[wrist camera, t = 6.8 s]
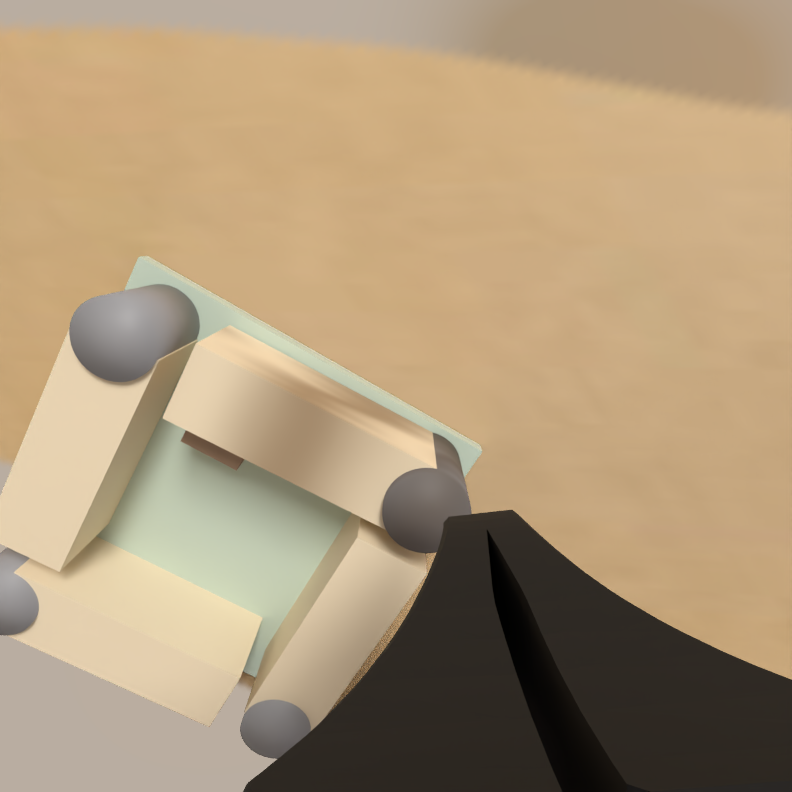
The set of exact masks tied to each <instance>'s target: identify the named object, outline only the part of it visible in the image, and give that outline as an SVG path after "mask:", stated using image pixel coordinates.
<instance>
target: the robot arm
mask: <svg viewBox="0 0 792 792" xmlns="http://www.w3.org/2000/svg"><path fill="white" fill-rule="evenodd" d="M243 792H792V680H791V679H788V678H786V677H783V676H780V675H778V674H775V673H773V672H770V671H768V670H765V669H763V668H760V667H757V666H755V665H753V664H750V663H748V662H746V661H743V660H741V659H739V658H736V657H734V656H732V655H729V654H727V653H725V652H723V651H720V650H718V649H716V648H714V647H712V646H710V645H708V644H706V643H704V642H702V641H700V640H698V639H696V638H693V637H691V636H689V635H687V634H685V633H683V632H681V631H679V630H677V629H675V628H673V627H672V626H670V625H668V624H666V623H664V622H662V621H660V620H658V619H657V618H655V617H653V616H652V615H650V614H648V613H646V612H645V611H643V610H641V609H640V608H638V607H636V606H635V605H633V604H631V603H629V602H628V601H626V600H624V599H623V598H621V597H620V596H618V595H617V594H615V593H613V592H612V591H610V590H609V589H607V588H606V587H605V586H603V585H602V584H600V583H599V582H598V581H596V580H595V579H593V578H592V577H590V576H589V575H588V574H586V573H585V572H584V571H582V570H581V569H580V568H578V567H577V566H576V565H575V564H573V563H572V562H571V561H570V560H569V559H567V558H566V557H565V556H564V555H562V554H561V553H560V552H559V551H558V550H556V549H555V548H554V547H553V546H552V545H551V544H549V543H548V542H547V541H546V540H545V539H544V538H543V537H542V536H540V535H539V534H538V533H537V532H536V531H535V530H534V529H533V528H532V527H531V526H530V525H529V524H528V523H526V522H525V521H524V520H523V519H522V518H521V517H520V516H519V515H518V514H517V513H515V512H514V511H513V510H506V511H497V512H488V513H478V514H469V515H460V516H451V517H448V518H447V519H446V520H445V521H444V523H443V533H442V537H441V541H440V544H439V547H438V550H437V553H436V556H435V558H434V561H433V563H432V566H431V568H430V571H429V573H428V576H427V578H426V580H425V582H424V584H423V586H422V588H421V590H420V592H419V594H418V596H417V598H416V600H415V602H414V604H413V606H412V608H411V609H410V611H409V613H408V614H407V616H406V618H405V620H404V621H403V623H402V624H401V626H400V628H399V629H398V631H397V632H396V634H395V635H394V637H393V638H392V640H391V641H390V643H389V644H388V645H387V647H386V648H385V649H384V651H383V652H382V653H381V655H380V656H379V657H378V659H377V660H376V661H375V662H374V664H373V665H372V666H371V668H370V669H369V670H368V672H367V673H366V674H365V675H364V676H363V678H362V679H361V680H360V681H359V682H358V683H357V685H356V686H355V687H354V688H353V689H352V690H351V691H350V692H349V693H348V694H347V695H346V696H345V698H344V699H343V700H342V701H341V702H340V703H339V704H338V705H337V706H336V707H335V708H334V709H333V710H332V711H331V712H330V713H329V714H328V715H327V716H326V717H325V718H324V719H323V720H322V721H321V722H320V723H319V724H318V725H317V726H316V727H315V728H314V729H313V730H312V731H310V732H309V733H308V734H307V735H306V736H305V737H304V738H302V739H301V740H300V741H299V742H298V743H296V744H295V745H294V746H293V747H292V748H290V749H289V750H288V751H287V752H286V753H284V754H283V755H282V756H281V757H280V758H278V759H277V760H276V761H275V762H274V763H272V764H271V765H270V766H269V767H267V768H266V769H265V770H264V771H263V772H261V773H260V774H259V775H257V776H256V777H255V778H253V779H252V780H251V781H250V782H248V784H247V785H246V787H245V789H244V791H243Z"/></svg>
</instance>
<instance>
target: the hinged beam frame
mask: <svg viewBox="0 0 792 792" xmlns="http://www.w3.org/2000/svg"><path fill="white" fill-rule="evenodd" d="M229 325H231V326H233V327H235V328H236V329H238V330H240V331H242V332H244V333H246V334H248V335H250V336H252V337H253V338H255V339H257V340H259V341H261V342H263V343H265V344H267V345H269V346H270V347H272V348H274V349H276V350H278V351H280V352H282V353H284V354H285V355H287V356H289V357H291V358H293V359H295V360H297V361H299V362H301V363H302V364H304V365H306V366H308V367H310V368H312V369H314V370H316V371H318V372H319V373H321V374H323V375H325V376H327V377H329V378H331V379H333V380H335V381H336V382H338V383H340V384H342V385H344V386H346V387H348V388H350V389H351V390H353V391H355V392H357V393H359V394H361V395H363V396H365V397H367V398H368V399H370V400H372V401H374V402H376V403H378V404H380V405H382V406H384V407H385V408H387V409H389V410H391V411H393V412H395V413H397V414H399V415H401V416H402V417H404V418H406V419H408V420H410V421H412V422H414V423H416V424H417V425H419V426H421V427H423V428H425V429H427V430H429V431H431V432H433V433H436V434H439V435H441V436H443V437H445V438H446V439H447V440H449V441H450V442H451V443H452V444H453V445H454V447H455V448H456V450H457V452H458V454H459V457H460V462H461V466H462V471H463V475H464V477H465V476H466V474H467V473H468V472H469V470H470V469H471V467H472V466H473V464H474V463H475V461H476V460H477V458H478V457H479V456H480V454H481V453H482V449H481V446H480V445H479V444H478V443H476V442H474V441H472V440H471V439H469V438H467V437H465V436H463V435H462V434H460V433H458V432H456V431H455V430H453V429H451V428H449V427H448V426H446V425H444V424H442V423H441V422H439V421H437V420H435V419H434V418H432V417H430V416H428V415H427V414H425V413H423V412H421V411H419V410H418V409H416V408H414V407H412V406H411V405H409V404H407V403H405V402H404V401H402V400H400V399H398V398H397V397H395V396H393V395H391V394H390V393H388V392H386V391H384V390H383V389H381V388H379V387H377V386H375V385H374V384H372V383H370V382H368V381H367V380H365V379H363V378H361V377H360V376H358V375H356V374H354V373H353V372H351V371H349V370H347V369H346V368H344V367H342V366H340V365H339V364H337V363H335V362H333V361H332V360H330V359H328V358H326V357H324V356H323V355H321V354H319V353H317V352H316V351H314V350H312V349H310V348H309V347H307V346H305V345H303V344H302V343H300V342H298V341H296V340H295V339H293V338H291V337H289V336H288V335H286V334H284V333H282V332H280V331H279V330H277V329H275V328H273V327H272V326H270V325H268V324H266V323H265V322H263V321H261V320H259V319H258V318H256V317H254V316H252V315H251V314H249V313H247V312H245V311H244V310H242V309H240V308H238V307H237V306H235V305H233V304H231V303H229V302H228V301H226V300H224V299H222V298H221V297H219V296H217V295H215V294H214V293H212V292H210V291H208V290H207V289H205V288H203V287H201V286H200V285H198V284H196V283H194V282H193V281H191V280H189V279H187V278H185V277H184V276H182V275H180V274H178V273H177V272H175V271H173V270H171V269H170V268H168V267H166V266H164V265H163V264H161V263H159V262H157V261H156V260H154V259H152V258H150V257H149V256H141V257H138V260H137V262H136V264H135V267H134V269H133V271H132V274H131V276H130V278H129V281H128V283H127V285H126V287H125V290H124V291H120V292H116V293H111V294H107V295H102V296H97V297H94V298H91V299H89V300H87V301H85V302H84V303H83V304H81V305H80V306H79V307H78V308H77V310H76V311H75V313H74V315H73V317H72V319H71V322H70V328H69V330H68V333H67V335H66V338H65V340H64V342H63V345H62V347H61V350H60V352H59V355H58V357H57V360H56V362H55V364H54V367H53V369H52V372H51V374H50V377H49V379H48V381H47V384H46V386H45V389H44V391H43V394H42V396H41V398H40V401H39V403H38V406H37V408H36V411H35V413H34V415H33V418H32V420H31V423H30V425H29V428H28V430H27V432H26V435H25V437H24V440H23V442H22V445H21V447H20V449H19V452H18V454H17V457H16V459H15V462H14V464H13V466H12V469H11V471H10V474H9V476H8V479H7V481H6V484H5V486H4V489H3V491H2V493H1V496H0V544H1V545H4V546H6V547H7V548H6V549H5V550H4V551H2V552H1V553H0V635H7V636H9V637H11V638H14V639H16V640H18V641H20V642H22V643H24V644H27V645H29V646H31V647H33V648H36V649H38V650H40V651H42V652H44V653H47V654H49V655H51V656H54V657H56V658H58V659H60V660H62V661H64V662H67V663H69V664H71V665H73V666H75V667H77V668H80V669H82V670H84V671H86V672H89V673H91V674H93V675H95V676H97V677H100V678H102V679H104V680H107V681H108V682H111V683H113V684H115V685H117V686H119V687H122V688H124V689H126V690H128V691H131V692H133V693H135V694H137V695H139V696H142V697H144V698H146V699H148V700H150V701H153V702H155V703H157V704H159V705H161V706H164V707H166V708H168V709H171V710H172V711H175V712H177V713H179V714H181V715H183V716H186V717H188V718H190V719H193V720H195V721H197V722H199V723H201V724H203V725H206V726H208V727H210V725H211V724H212V722H213V721H214V719H215V717H216V716H217V714H218V712H219V711H220V709H221V708H222V706H223V705H224V703H225V702H226V700H227V698H228V697H229V695H230V694H231V692H232V690H233V689H234V687H235V686H236V684H237V682H238V681H239V679H240V677H241V675H242V672H245V673H247V674H249V675H252V676H254V677H256V679H255V682H254V684H253V687H252V690H251V693H250V696H249V699H248V703H247V705H246V708H245V711H244V712H245V714H244V717H243V720H242V723H241V727H240V732H241V736H242V739H243V741H244V742H245V743H246V745H247V746H248V747H249V748H250V749H251V750H253V751H254V752H256V753H257V754H259V755H262V756H265V757H268V758H276V759H278V758H280V757H281V756H282V755H283V754H284V753H286V752H287V751H288V750H289V749H290V748H292V747H293V746H294V745H295V744H296V743H298V742H299V741H300V740H301V739H302V738H304V737H305V736H306V735H307V734H308V733H309V732H310V731H312V730H313V729H314V728H315V727H316V726H317V725H318V724H319V723H320V722H321V721H322V720H323V719H324V718H325V717H326V716H327V714H328V713H329V711H330V710H331V709H332V707H333V706H334V704H335V703H336V701H337V700H338V699H339V697H340V696H341V694H342V693H343V692H344V690H345V689H346V687H347V686H348V685H349V683H350V682H351V680H352V679H353V677H354V676H355V675H356V673H357V672H358V670H359V669H360V668H361V666H362V665H363V663H364V662H365V661H366V659H367V658H368V656H369V655H370V653H371V652H372V651H373V649H374V648H375V646H376V645H377V644H378V642H379V641H380V639H381V638H382V636H383V635H384V634H385V632H386V631H387V629H388V628H389V627H390V625H391V624H392V622H393V621H394V620H395V618H396V617H397V615H398V614H399V612H400V611H401V610H402V608H403V607H404V605H405V604H406V603H407V601H408V600H409V598H410V597H411V596H412V594H413V593H414V591H415V590H416V588H417V587H418V586H419V584H420V583H421V581H422V580H423V579H424V577H425V576H426V574H427V566H426V553H418V552H414V551H410V550H408V549H405V548H404V547H402V546H400V545H399V544H397V543H396V542H395V541H394V540H393V539H392V538H391V537H390V535H389V534H388V532H387V531H386V530H385V529H383V528H381V527H379V526H377V525H375V524H373V523H371V522H369V521H367V520H365V519H363V518H361V517H359V516H357V515H355V514H353V513H351V512H349V511H347V510H345V509H343V508H341V507H339V506H337V505H335V504H333V503H331V502H329V501H327V500H325V499H323V498H321V497H319V496H317V495H315V494H313V493H311V492H309V491H307V490H305V489H303V488H301V487H299V486H297V485H295V484H293V483H291V482H289V481H287V480H285V479H283V478H281V477H279V476H277V475H275V474H273V473H271V472H269V471H267V470H265V469H263V468H261V467H259V466H257V465H255V464H253V463H251V462H249V461H247V460H245V459H243V458H241V457H239V456H237V455H235V454H233V453H231V452H229V451H227V450H225V449H223V448H221V447H219V446H217V445H215V444H213V443H211V442H209V441H207V440H205V439H203V438H201V437H199V436H197V435H195V434H193V433H191V432H189V431H187V430H185V429H183V428H181V427H179V426H177V425H175V424H173V423H171V422H169V421H167V420H165V419H163V415H164V413H165V411H166V409H167V406H168V404H169V402H170V400H171V398H172V395H173V393H174V391H175V389H176V386H177V384H178V382H179V380H180V378H181V375H182V373H183V371H184V369H185V366H186V364H187V362H188V360H189V358H190V355H191V353H192V351H193V349H194V346H195V344H196V343H197V342H199V341H201V340H203V339H205V338H207V337H209V336H210V335H212V334H214V333H216V332H218V331H220V330H222V329H223V328H225V327H227V326H229Z"/></svg>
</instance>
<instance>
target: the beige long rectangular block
mask: <svg viewBox="0 0 792 792" xmlns="http://www.w3.org/2000/svg"><path fill="white" fill-rule="evenodd" d="M163 419H165V420H167V421H169V422H171V423H173V424H175V425H177V426H179V427H181V428H183V429H185V430H187V431H189V432H191V433H193V434H195V435H197V436H199V437H201V438H203V439H205V440H207V441H209V442H211V443H213V444H215V445H217V446H219V447H221V448H223V449H225V450H227V451H229V452H231V453H233V454H235V455H237V456H239V457H241V458H243V459H245V460H247V461H249V462H251V463H253V464H255V465H257V466H259V467H261V468H263V469H265V470H267V471H269V472H271V473H273V474H275V475H277V476H279V477H281V478H283V479H285V480H287V481H289V482H291V483H293V484H295V485H297V486H299V487H301V488H303V489H305V490H307V491H309V492H311V493H313V494H315V495H317V496H319V497H321V498H323V499H325V500H327V501H329V502H331V503H333V504H335V505H337V506H339V507H341V508H343V509H345V510H347V511H349V512H351V513H353V514H355V515H357V516H359V517H361V518H363V519H365V520H367V521H369V522H371V523H373V524H375V525H377V526H379V527H381V528H383V529H385V530H386V531H387V532H388V534H389V535H390V537H391V538H392V539H393V540H394V541H395V542H396V543H397V544H399V545H400V546H402V547H404V548H405V549H408V550H410V551H414V552H418V553H435V552H437V550H438V547H439V544H440V541H441V537H442V533H443V523H444V521H445V520H446V519H447V518H448V517H451V516H460V515H469V514H471V506H470V501H469V497H468V492H467V488H466V484H465V479H464V475H463V471H462V466H461V462H460V457H459V454H458V452H457V450H456V448H455V447H454V445H453V444H452V443H451V442H450V441H449V440H447V439H446V438H445V437H443V436H441V435H439V434H436V433H433V432H431V431H429V430H427V429H425V428H423V427H421V426H419V425H417V424H416V423H414V422H412V421H410V420H408V419H406V418H404V417H402V416H401V415H399V414H397V413H395V412H393V411H391V410H389V409H387V408H385V407H384V406H382V405H380V404H378V403H376V402H374V401H372V400H370V399H368V398H367V397H365V396H363V395H361V394H359V393H357V392H355V391H353V390H351V389H350V388H348V387H346V386H344V385H342V384H340V383H338V382H336V381H335V380H333V379H331V378H329V377H327V376H325V375H323V374H321V373H319V372H318V371H316V370H314V369H312V368H310V367H308V366H306V365H304V364H302V363H301V362H299V361H297V360H295V359H293V358H291V357H289V356H287V355H285V354H284V353H282V352H280V351H278V350H276V349H274V348H272V347H270V346H269V345H267V344H265V343H263V342H261V341H259V340H257V339H255V338H253V337H252V336H250V335H248V334H246V333H244V332H242V331H240V330H238V329H236V328H235V327H233V326H231V325H229V326H227V327H225V328H223V329H222V330H220V331H218V332H216V333H214V334H212V335H210V336H209V337H207V338H205V339H203V340H201V341H199V342H197V343H196V344H195V346H194V349H193V351H192V353H191V355H190V358H189V360H188V362H187V364H186V366H185V369H184V371H183V373H182V375H181V378H180V380H179V382H178V384H177V386H176V389H175V391H174V393H173V395H172V398H171V400H170V402H169V404H168V406H167V409H166V411H165V413H164V415H163Z"/></svg>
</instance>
